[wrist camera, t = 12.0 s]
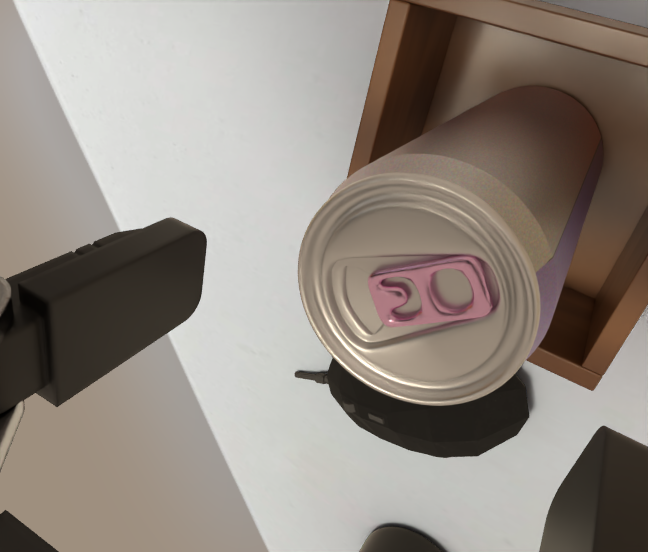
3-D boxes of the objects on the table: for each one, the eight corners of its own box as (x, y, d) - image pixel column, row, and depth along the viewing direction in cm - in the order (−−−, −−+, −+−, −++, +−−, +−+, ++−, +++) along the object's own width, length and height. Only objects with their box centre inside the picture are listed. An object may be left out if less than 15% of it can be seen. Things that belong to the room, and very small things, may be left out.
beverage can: (618, 205, 23) (580, 412, 11) (479, 233, 27) (337, 416, 15) (586, 62, 22) (503, 127, 10) (444, 110, 25) (254, 203, 13)
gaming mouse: (286, 330, 36) (250, 361, 33) (524, 338, 28) (508, 380, 25) (308, 412, 38) (276, 449, 35) (536, 441, 30) (522, 492, 27)
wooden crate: (453, -21, 23) (395, -30, 18) (757, 55, 20) (793, 72, 15) (383, 221, 29) (324, 267, 24) (606, 314, 26) (593, 392, 21)
